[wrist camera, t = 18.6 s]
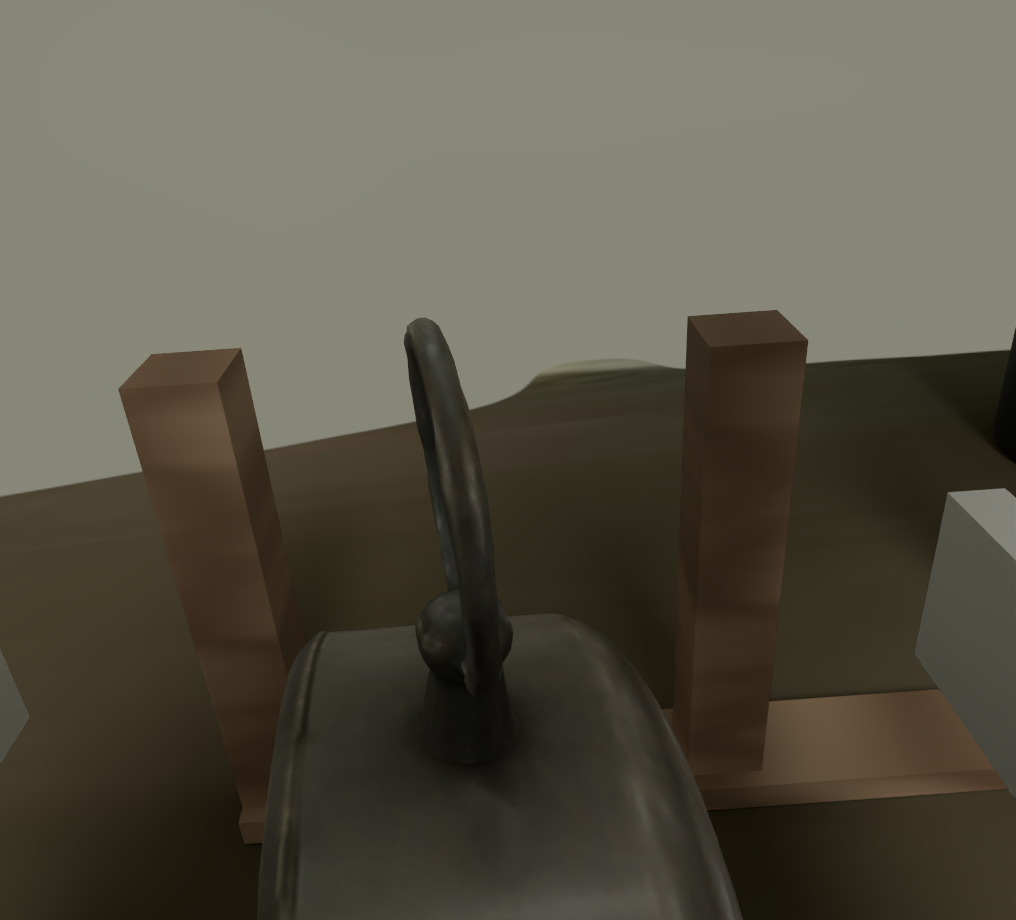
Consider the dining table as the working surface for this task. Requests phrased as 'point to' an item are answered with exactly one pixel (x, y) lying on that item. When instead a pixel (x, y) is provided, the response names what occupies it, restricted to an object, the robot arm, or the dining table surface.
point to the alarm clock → (478, 747)
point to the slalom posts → (700, 594)
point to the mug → (1008, 408)
